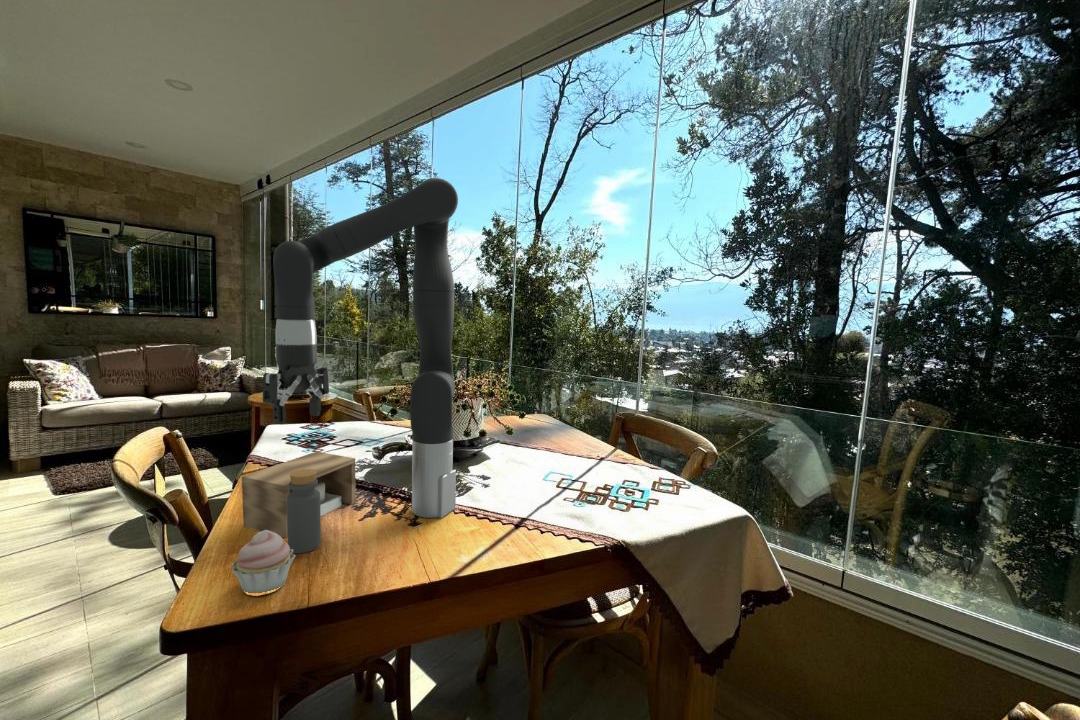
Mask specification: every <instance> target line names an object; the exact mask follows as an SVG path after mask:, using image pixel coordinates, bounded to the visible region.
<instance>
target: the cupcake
mask: <svg viewBox="0 0 1080 720" xmlns="http://www.w3.org/2000/svg"><path fill="white" fill-rule="evenodd" d="M295 558H296V554H295V553H293V549H290V547H289V545H288V542H286V541H285V540H284V539H283V537H281V536H279V535H278V534H276V533H274V532H271V531H268V530H264V531H258V532H257V533H255V535H254V536H253V537H252V538H251V540H250V541H249V542H247V543H246V544H245V545H244V546H243V547H242V548H241V549H240V550H239V552H238V558H237V560H235V561H234V562H232V563H231V565H232V567H233V568H232V569H231V572H232V573H233V574H234V575H235V576H236V578H237V579H238V582H239V584H240V588H241V591H242V590H243V591H245V592H248V593H262V592H267V591H271V590H274V589H277V588H279V587H281V586H282V585H283V584H284V583H285V584H286V582H287V577H288V574H289V570H290V567H291V564H292V563H293V562H294V559H295ZM285 584H284V585H285ZM243 591H242V592H243Z"/></svg>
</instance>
